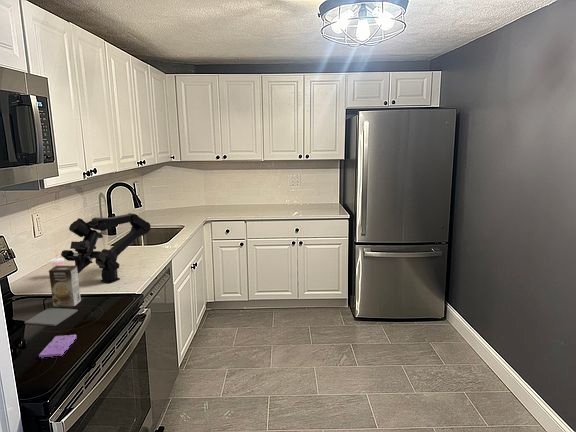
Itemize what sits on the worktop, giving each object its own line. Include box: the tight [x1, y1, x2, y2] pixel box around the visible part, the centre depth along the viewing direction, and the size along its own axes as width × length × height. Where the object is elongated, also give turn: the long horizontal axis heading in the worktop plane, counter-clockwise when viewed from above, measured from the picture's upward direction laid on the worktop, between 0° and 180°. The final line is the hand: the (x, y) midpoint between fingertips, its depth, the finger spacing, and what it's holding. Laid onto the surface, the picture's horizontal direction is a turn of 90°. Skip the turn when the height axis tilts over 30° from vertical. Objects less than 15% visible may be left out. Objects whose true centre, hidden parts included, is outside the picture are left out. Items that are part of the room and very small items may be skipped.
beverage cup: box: [50, 249, 65, 269], centre depth 207 cm, size 6×6×14 cm
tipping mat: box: [24, 307, 78, 327], centre depth 163 cm, size 13×13×1 cm
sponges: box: [38, 334, 77, 359], centre depth 140 cm, size 7×13×2 cm, turn 6°
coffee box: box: [48, 265, 82, 308], centre depth 174 cm, size 9×6×16 cm
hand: (76, 273), depth 181 cm, fingers closed
